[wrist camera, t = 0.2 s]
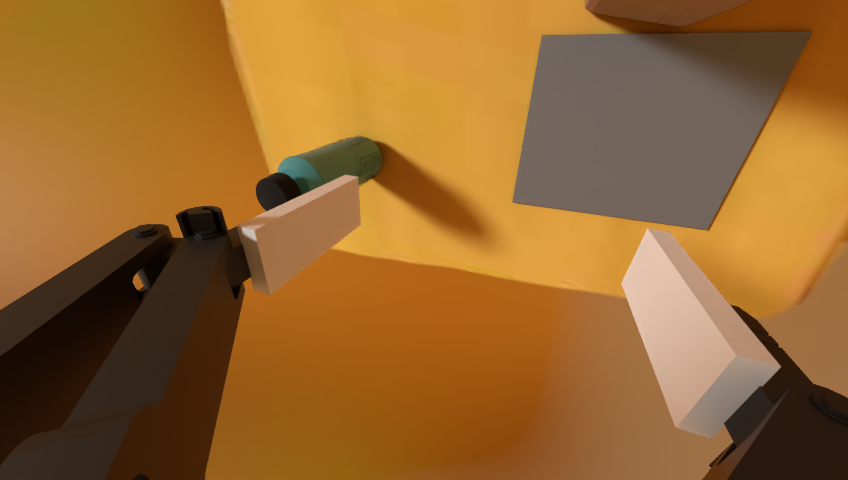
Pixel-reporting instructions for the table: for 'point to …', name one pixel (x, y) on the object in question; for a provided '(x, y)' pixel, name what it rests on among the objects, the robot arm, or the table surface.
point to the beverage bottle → (319, 170)
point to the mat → (648, 120)
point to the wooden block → (662, 9)
